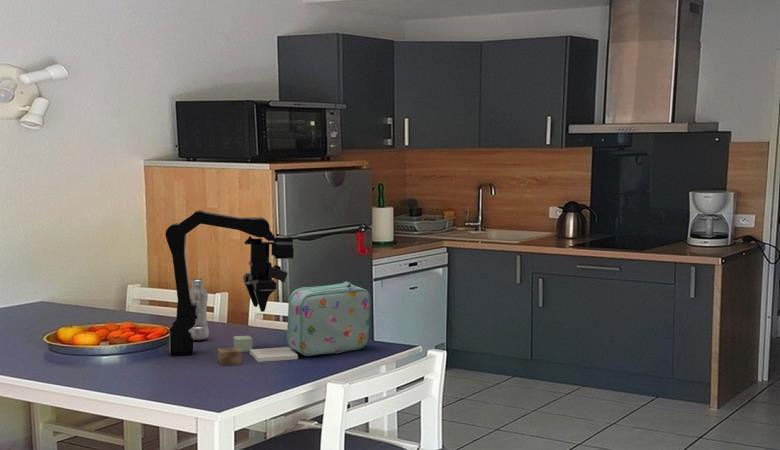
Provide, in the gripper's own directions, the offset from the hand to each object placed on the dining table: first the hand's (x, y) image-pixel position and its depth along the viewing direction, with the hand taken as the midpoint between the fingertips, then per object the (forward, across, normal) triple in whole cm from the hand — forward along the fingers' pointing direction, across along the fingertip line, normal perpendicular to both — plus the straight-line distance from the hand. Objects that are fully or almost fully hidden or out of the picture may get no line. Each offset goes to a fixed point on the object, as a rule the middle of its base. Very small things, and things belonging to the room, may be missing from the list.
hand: (259, 309), depth 284 cm
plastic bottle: (+14, +23, +15) cm, 30 cm away
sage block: (+13, +4, +4) cm, 15 cm away
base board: (+13, -8, -3) cm, 16 cm away
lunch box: (+13, -8, -21) cm, 26 cm away
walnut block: (+14, -12, +12) cm, 21 cm away
